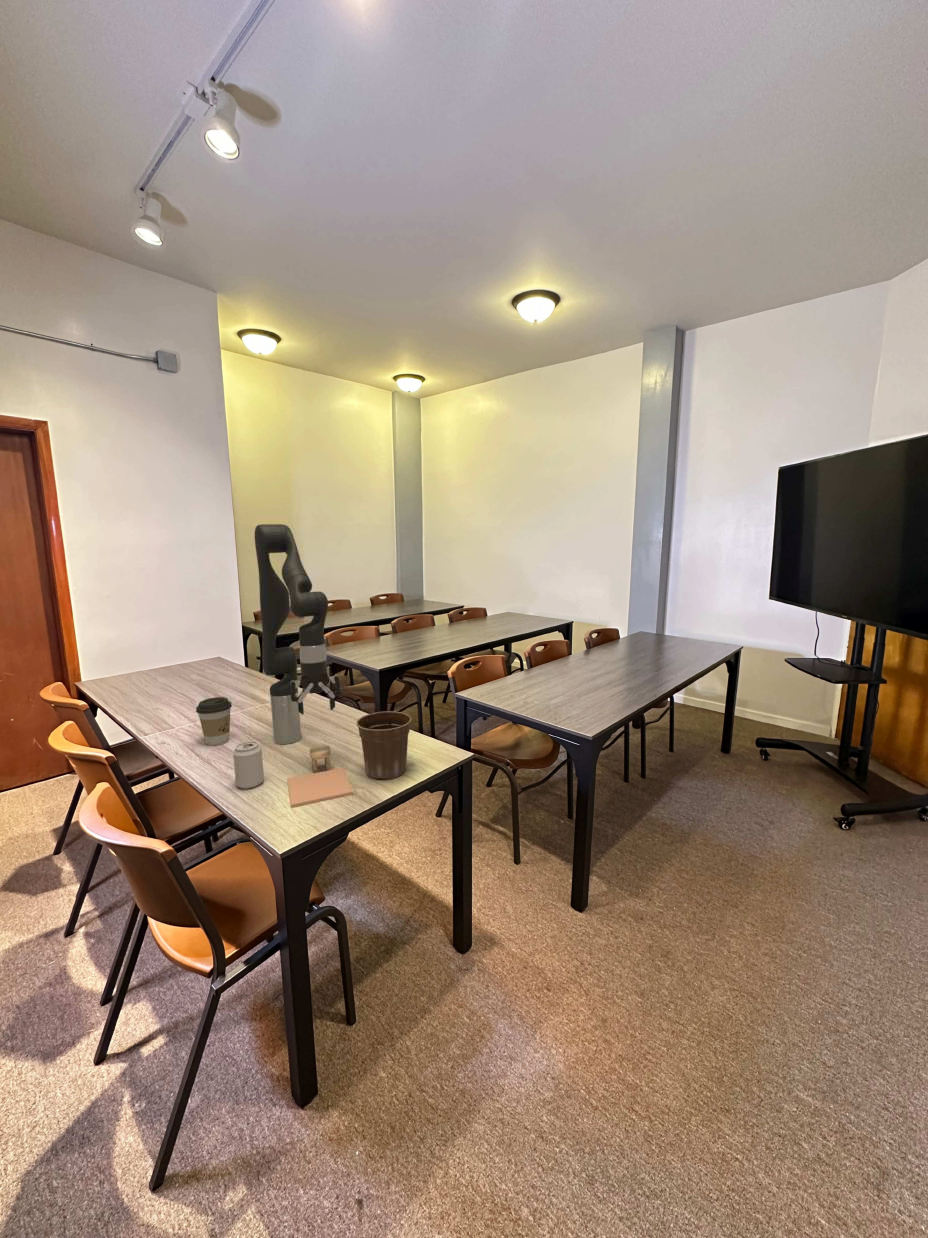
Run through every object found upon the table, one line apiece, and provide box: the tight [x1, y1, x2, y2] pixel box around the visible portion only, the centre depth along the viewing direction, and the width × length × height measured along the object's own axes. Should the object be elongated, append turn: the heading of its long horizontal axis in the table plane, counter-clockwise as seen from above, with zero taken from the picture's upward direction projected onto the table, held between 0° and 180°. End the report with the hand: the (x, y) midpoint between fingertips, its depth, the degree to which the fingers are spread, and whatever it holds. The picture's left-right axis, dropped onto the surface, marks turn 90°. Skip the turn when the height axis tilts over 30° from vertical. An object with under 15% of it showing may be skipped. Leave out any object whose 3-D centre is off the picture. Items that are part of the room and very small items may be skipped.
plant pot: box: [356, 710, 413, 780], centre depth 146 cm, size 16×16×16 cm
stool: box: [309, 744, 331, 774], centre depth 149 cm, size 6×6×6 cm
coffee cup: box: [195, 696, 233, 747], centre depth 171 cm, size 11×11×15 cm
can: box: [232, 740, 265, 790], centre depth 140 cm, size 8×8×12 cm
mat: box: [287, 767, 354, 808], centre depth 137 cm, size 16×16×1 cm
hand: (317, 711), depth 146 cm, fingers open, 8 cm apart
